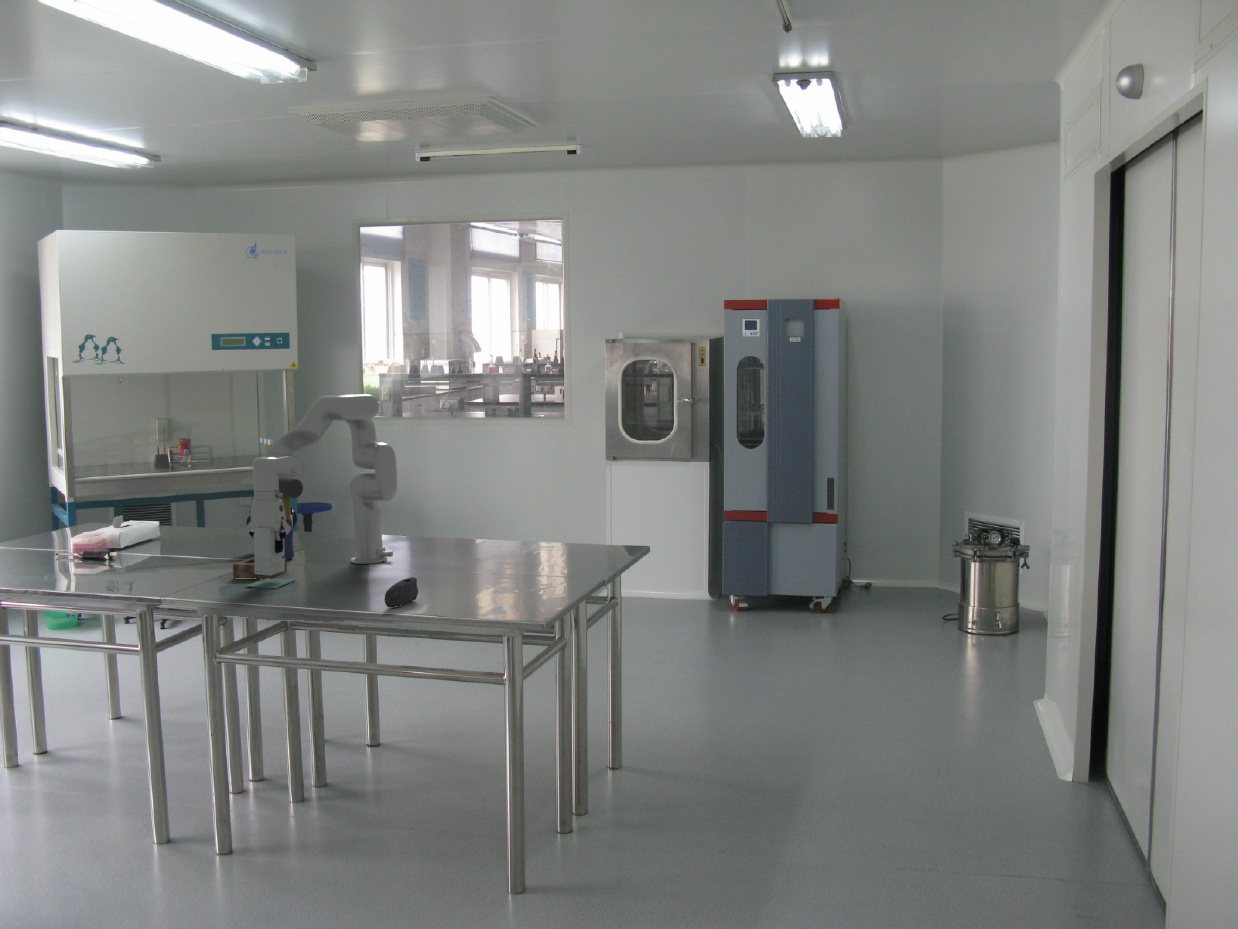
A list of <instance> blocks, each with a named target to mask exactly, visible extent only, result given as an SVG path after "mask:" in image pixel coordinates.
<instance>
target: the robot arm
mask: <svg viewBox="0 0 1238 929" xmlns="http://www.w3.org/2000/svg"><path fill="white" fill-rule="evenodd" d="M379 410H380V404H379V400H378V399H377V398H376V397H375V396H374V395H372V394H368V393H367V394H364V393H363V394H361V393H360V394H355V393H354V394H353V393H352V394H350V393H348V394H347V393H346V394H341V395H322V396H320V397H318V398H317V399H316V400H315V401H314V402H313V403H312V405H311V406H310V408H309V409H308V411H307V412H306V413H305V415H304V416H303V417H302V419H301V420H300V422H299V423H298V424H297V425H296V426H295V427H294V428H292V429H290V430H289V431H287V432H286V433H284V435H281V437H279V438H278V439H276V440H275V441H274V442H273V443H272V444H271V445H270V446H269V448H268V450H267V451H266V452H265V454H264V455H263V456H260V457H255V458H254V459H253V460H252V478H253V480H252V481H253V482H252V484H253V500H252V502H251V509H250V510H251V522H250V523H249V524H248V525H247V524H246V526H245V527H244V530H245V531H246V532H247V533H248V534H249V536H250V537H251V538H252V540H253V541H254V529H255V528H273V531H274V532H275V536H276V539H277V540H276V541H275V548H276V553H280V552H282V551H283V539H284V538H285V537H286V535H287V534H288V533H289V532H290V531H291V530H292V528H291V527H290V526H289V525H288V524H287V523H286V516H285V510H284V505H283V499H280V498H282V496H283V493H280V491H279V478H297V477H298V476H300V475H301V474H302V472H303V469H304V463H303V461H302V460H301V458H300V457H298V456H296V455H293V454H294V453H296V452H298V451H299V450H302V449H305V448H307V447H311V446H313V445H315V444H316V443H317V444H318V443H319V441H320V440H322V438H323V436H324V434H325V433H326V432H327V431H328V429H329V427H330V426H331V424H332V423H333V422H345V423H347V425H348V428H349V430H350V435H351V436H350V437H351V440H350V441H351V456H352V462H353V465H354V466H355V467H356V468H358V469H362V470H374V472H359V473H356V474H355V475H353V476H352V478H351V479H350V481H349V486H348V488H349V492H350V493H349V494H350V496H351V501H352V508H353V509H352V510H353V533H354V556H353V557H351V558H350V562H351V563H352V564H357V565H358V564H359V565H360V564H361V565H370V564H377V563H382V562H383V561H384V562H386V561H387V560H388V557H389V558H390V557H391V558H392V557H393V556H394V552H393V550H386V547H384V546H383V532H382V530H383V528H382V525H383V524H382V510H381V507H380V503H379V502H380V501H382V502H384V501H385V502H386V501H387V502H388V501H390V500H392V499H393V498H394V497H395V496H396V493H397V490H398V474H397V473H398V472H397V471H398V470H397V455H396V452H395V450H394V448H393V447H392V446H391V445H390V444H388V443H386V442H377V433H376V432H377V431H376V427H375V426H376V425H375V423H374V421H373V420H372V419H373V418H374V417H376V416H377V414H378V412H379ZM378 501H379V502H378ZM280 527H281V528H282V530H284V529H285V530H284V532H282V530H281V528H280ZM384 562H383V563H384Z"/></svg>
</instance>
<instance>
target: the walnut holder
mask: <svg viewBox="0 0 1238 929" xmlns="http://www.w3.org/2000/svg"><path fill="white" fill-rule="evenodd" d="M287 570H288V569H287V560H286V557H285V571H283V572H285V573H287V572H288V571H287ZM232 572H233V573H232V575H233V579H234V578H252V579H253V578H256V579H267V578H270V579H272V578H274V577H273V576H275V575H277V576H279V574H280V575H282V574H284V573H283V572H279V573H276V574H273V575H270V576H269V575H261V574H255V556H252V557H249V558H247V559H244V560H241V561H239V562H235V563H232ZM281 573H282V574H281ZM271 577H272V578H271ZM275 577H276V576H275Z"/></svg>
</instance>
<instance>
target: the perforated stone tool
mask: <svg viewBox="0 0 1238 929" xmlns="http://www.w3.org/2000/svg"><path fill="white" fill-rule="evenodd" d="M417 583H418V579H417V578H416V577H413V576H411V577H407V578H404V579H401V580H399V581H398V582H396V583H394V584H392V586H390V587H389V588H388V589H387V590H386V592H385V594H384V603H385V606H386V607H387V608H389V607H395V606H399V607H401V606H400V605H403V606H405V605H404V604H406V605H408V604H407V603H409V602H410V603H412V602H413V600H414V601H416V599H417V596H418V594H419V588H418V584H417ZM410 603H409V604H410Z"/></svg>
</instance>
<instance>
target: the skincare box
mask: <svg viewBox="0 0 1238 929" xmlns="http://www.w3.org/2000/svg"><path fill="white" fill-rule="evenodd" d="M280 528H281V527H280ZM281 530H282V528H281ZM282 532H284V530H282ZM276 540H277V539H276V536H275V532H274V531H273V528H255V529H254V540H253V541H254V543H253V544H254V557H255V574H261V575H269V576H270V575H273V574H276V573H279V572H283V571H285V556H284V539H283V551H282V552H280V553H276V548H275V541H276Z"/></svg>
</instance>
